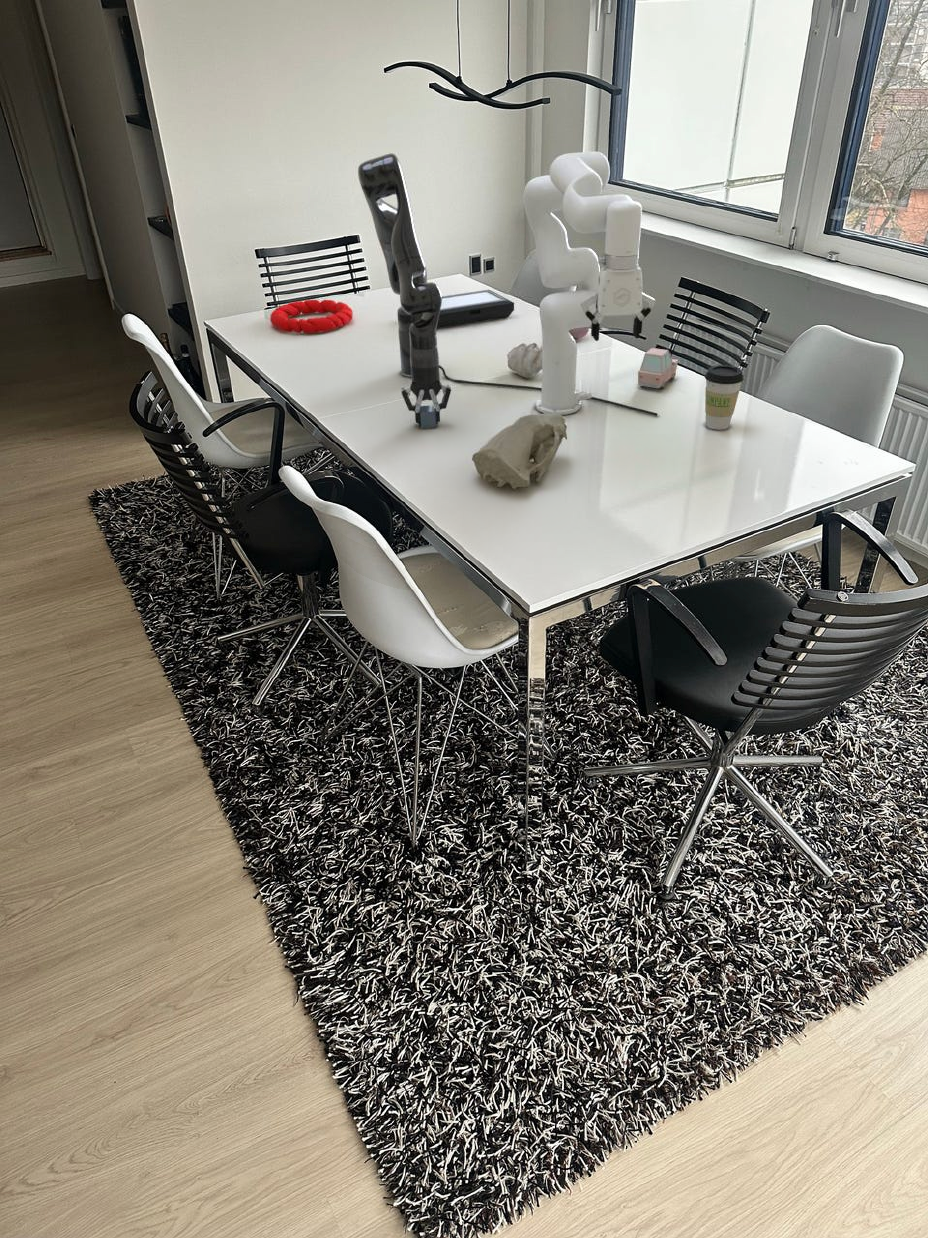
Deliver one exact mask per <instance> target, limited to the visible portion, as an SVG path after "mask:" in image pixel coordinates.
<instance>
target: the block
mask: <svg viewBox="0 0 928 1238" xmlns="http://www.w3.org/2000/svg"><path fill="white" fill-rule="evenodd" d="M420 419H421V425H420V429H422V430H424V429H436V428H437V424H436V417H435V407H434V404H432V405H431V404H430V405H421V406H420Z"/></svg>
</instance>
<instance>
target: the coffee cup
mask: <svg viewBox="0 0 928 1238" xmlns="http://www.w3.org/2000/svg"><path fill="white" fill-rule="evenodd" d="M704 379H705V387H704V388H705V389H704V390H705V392H704V393H705V394H704V395H705V396H704V397H705V399H704V401H705V402H704V403H705V404H704V406H705V408H704V412H705V426H706V427H707V428H708V429H711V430H719V431H722V430H727V429H729V428H730V424H731V422H732V421H731V420H732V418H733V415H734V413H735V408H736V404H737V401H738V397H739V394H740V390H741V389H740V387H741V384H742V382H743V381H744V379H745V377H744V374H743V370H742V369H741V368H739V367H738V366H734V365H728V364H717V365H712V366H710V367H708V369H707V372H705V374H704Z"/></svg>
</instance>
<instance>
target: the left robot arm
mask: <svg viewBox="0 0 928 1238" xmlns="http://www.w3.org/2000/svg"><path fill="white" fill-rule="evenodd" d="M357 175H358V176H357V177H358V181H359V185H360V188H361V190H362V193H363V195H364V199H365V201H366V203H367V206H368V208H369V210H370V214H371V217H372V220H373V225H374V229H375V233H376V236H377V240H378V243H379V245H380V248H381V251H382V254H383V257H384V260H385V265H386V270H387V275H388V279H389V284H390V288H391V290H392V292H393V293H394V294H395V295H398V296H399V301H400V306H399V307H398V309H397V328H398V329H397V330H398V343H399V358H400V374H401V375H402V376H404V377H406V378H411V383H410V385H409V387H402V388H400V390H401V395H402V398H403V401H404V403H405V405H406V408H407V410H408V411H409V412H413V413H414V420H415V423H416V424H417V425H418V426H421V419H420V406H422V402H423V401H424V402H425V401H432V405H434V408H435V417H436V425H438V424H439V423H440V422H441V410H446V409H447V406H448V403H449V399H450V396H451V392H452V388H451V385H450V384H447V385H444V384H442V382H441V381H440V380H441V378H440V370H441V371H442V374H443V377H444V378H445V379H446V380H448V381H451V382H453V383H459V384H460V383H462V384H467V385H476V386H477V385H478V386H479V385H480V386H491V387H502V388H514V389H524V390H534V391H541V392H542V387H536V386H529V385H519V384H518V385H517V384H509V383H496V382H482V381H471V380H463V379H452V378H450V377H449V376H448V375H447V373H446V370H445V368H444V367H442V365H441V364H440V356H439V350H438V335H437V323H438V318H439V313H440V309H441V304H442V297H443V295H442V291H441V289H440V287H439V286H438V284H437V283H435V282H428V272H427V267H426V264H425V260H424V257H423V253H422V251H421V247H420V243H419V240H418V237H417V233H416V228H415V223H414V217H413V212H412V211H413V210H412V206H411V202H410V197H409V191H408V188H407V187H408V186H407V184H406V177H405V175H404V171H403V167H402V165H401V162H400V159H399V158H398V157H397V155H396V154H395V153H391V152H389V153H385V154H383V155H380V156H377V157H374V158H372V159H371V158H370V159H367V160H365V161H363V162H361V163H360V164H359V166H358V167H357ZM391 196H396V202H397V207H395V206H394V205H392V204H390V203H388V202H387V201H385V200H384V199H385V198H388V197H391ZM441 391H442V394H443V396H442V400H441V402H440V403H439V401H438V398H437V396H438V394H439V393H440V392H441ZM411 392H412V393H413V395H414V396H415V397H416V398H415V404H412V402H411V399H410V397H411ZM590 400H593V401H597V402H601V403H605V404H608V405H613V406H617V407H621V408H624V409H628V410H632V411H636V412H639V413H643V414H647V415H651V416H655V417H658V414H659V413H657V412H653V411H649V410H646V409H642V408H638V407H634V406H630V405H627V404H623V403H619V402H615V401H611V400H607V399H603V398H599V397H594V396H591V399H590Z"/></svg>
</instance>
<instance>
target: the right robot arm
mask: <svg viewBox="0 0 928 1238" xmlns="http://www.w3.org/2000/svg"><path fill="white" fill-rule="evenodd" d="M610 175H611V168H610V162H609V160H608V158H607V156H605V154H604V153H602V152H600V151H593V150H592V151H582V152H581V151H580V152H569V153H563V154H561V155H559V156H557V157H556V158H555V159H554V160H553V161H552V163H551V164H550V167H549V174H548V175H547V174H546V175H541V176H537V177H534V178H532V179H530V180H529V181H528V182H527V183H526V184H525V187H524V191H523V206H524V213H525V215H526V219H527V222H528V224H529V226H530V229H531V232H532V234H533V237H534V243H535V251H536V258H537V265H538V272H539V277H540V281H541V283H542V286H544V287H545V288H547V289H562V288H569V287H570V288H571V287H579V289H580V290H569V291H561V292H554V293H551V294H548V295H546V296H545V297H543V299H542V300H541V301H540V303H539V319H540V326H541V338H542V341H541V343H542V347H541V349H542V369H541V388H542V391H541V395H540V396H541V397H540V398H539V399H538V400H537V401H535V409H536V410H537V411H539V413H540V412H541V414H544V413H548V412H552V413H554V414H558V415H562V416H564V415H571V414H574V413H576V412H578V411H579V410H580V409H581V401H582V400H592V399H591V397H593V396H592V392H591V391H584V390H583V389H581V390H577V389H576V387H577V385H576V384H577V383H576V382H577V362H578V344H577V342H576V339H574V338H573V337H572V336H571V335H570V333H569V330H570V329H575V328H582V327H589V328H590V336H591V337H592V338H593V340H594V341H595V342H598V341H599V340H600V329H601V328H600V327H601V325H600V324H601V323H602V322H603V320H604V317H616V316H617V317H619V316H635V317H634V318H633V326H632V335H633V337H634V338H635V339H640V334H642V332H643V321H645V318H646V317H647V316H648V315H649V314H650V313H651V312H652V309H653V308H654V307H655V306H654V305H655V304H656V302H657V301H656V299H655V298H653V297H651V296H649V295H647V294H645V293H644V292H643V272H642V268H641V267H640V266H639V253H640V242H641V230H642V218H643V217H642V215H643V208H642V204H641V203H640V202H638V201H635V200H633V199H632V198H631V197H630V196H629V195H627V194H622V193H621V194H605V195H602V192H603V190H604V189H605V188H606V186H607V185H608V183H609V180H610ZM560 211H562V212H563V215H564V216H563V217H564V219H565V221H566V223H567V224H568V225H569V226H570V227H571V228H572V229H573V230H574V231H575V232H577V233H580V234H586V235H587V234H597V233H605V243H604V253H603V256H601V257H598V256H597V254H596V252H595V251H594V250H593V249H591V248H590V247H573V248H571V247H570V245H569V242H568V241H569V240H568V234H567V230H566V228H565V226H564V225H563V223H562V221H561V220H560V219H559V218H558V217H557V216H556V215H555V214H554V213H552V212H560ZM600 265H603V266H602V267H601V268H600ZM643 301H644V302H646V305H645V306H644V308H643ZM642 308H643V309H642Z"/></svg>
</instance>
